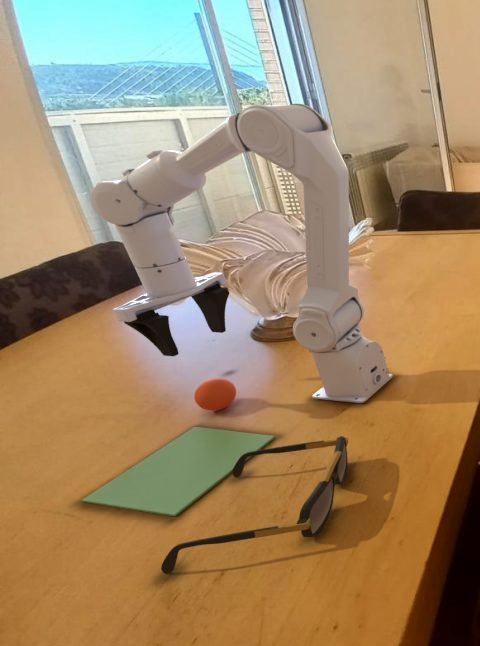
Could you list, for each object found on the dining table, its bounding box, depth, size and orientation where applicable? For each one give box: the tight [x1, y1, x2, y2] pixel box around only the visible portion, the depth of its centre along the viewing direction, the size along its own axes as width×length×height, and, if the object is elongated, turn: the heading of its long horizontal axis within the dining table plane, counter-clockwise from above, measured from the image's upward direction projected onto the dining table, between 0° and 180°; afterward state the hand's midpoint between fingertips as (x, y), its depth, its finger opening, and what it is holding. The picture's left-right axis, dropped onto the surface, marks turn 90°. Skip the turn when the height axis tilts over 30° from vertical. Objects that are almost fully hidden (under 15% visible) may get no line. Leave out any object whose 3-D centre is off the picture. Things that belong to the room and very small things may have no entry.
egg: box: [193, 377, 237, 412], centre depth 74 cm, size 5×5×5 cm
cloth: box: [81, 426, 276, 517], centre depth 63 cm, size 14×14×1 cm
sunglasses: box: [160, 435, 349, 575], centre depth 55 cm, size 14×15×5 cm
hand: (196, 342), depth 75 cm, fingers open, 7 cm apart
